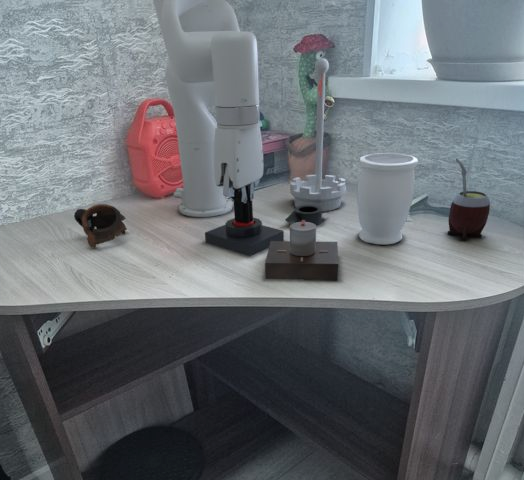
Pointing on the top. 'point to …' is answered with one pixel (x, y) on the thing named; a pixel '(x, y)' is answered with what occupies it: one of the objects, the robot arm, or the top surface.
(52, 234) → the top surface
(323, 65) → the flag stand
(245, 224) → the button
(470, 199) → the mate gourd
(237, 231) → the button block
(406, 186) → the jar
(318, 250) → the dial panel
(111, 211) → the rusty brown ring housing
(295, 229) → the dial
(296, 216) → the black wing nut
